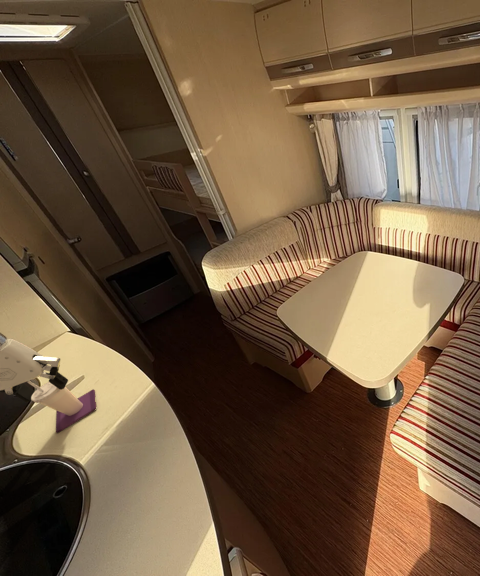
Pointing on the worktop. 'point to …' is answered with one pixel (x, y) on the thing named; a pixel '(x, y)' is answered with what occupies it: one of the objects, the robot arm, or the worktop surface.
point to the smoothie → (56, 398)
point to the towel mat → (88, 407)
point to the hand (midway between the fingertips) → (48, 390)
